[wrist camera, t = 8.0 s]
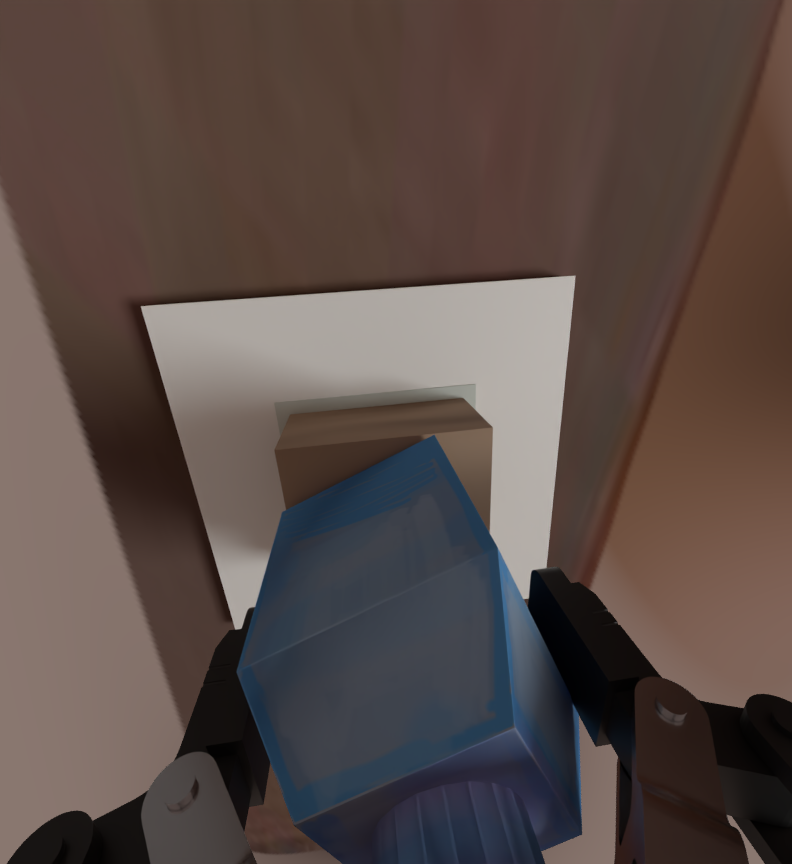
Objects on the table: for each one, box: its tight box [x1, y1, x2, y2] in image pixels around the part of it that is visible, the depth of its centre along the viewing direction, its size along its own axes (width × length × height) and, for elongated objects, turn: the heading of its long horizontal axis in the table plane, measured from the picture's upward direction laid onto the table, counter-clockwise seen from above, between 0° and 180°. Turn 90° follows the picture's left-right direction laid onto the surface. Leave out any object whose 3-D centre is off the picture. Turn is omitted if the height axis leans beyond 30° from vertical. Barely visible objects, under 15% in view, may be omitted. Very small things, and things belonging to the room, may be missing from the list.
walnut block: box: [274, 398, 493, 533], centre depth 17 cm, size 8×8×4 cm
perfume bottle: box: [237, 435, 582, 864], centre depth 9 cm, size 6×6×12 cm
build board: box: [141, 276, 575, 630], centre depth 20 cm, size 18×18×1 cm
